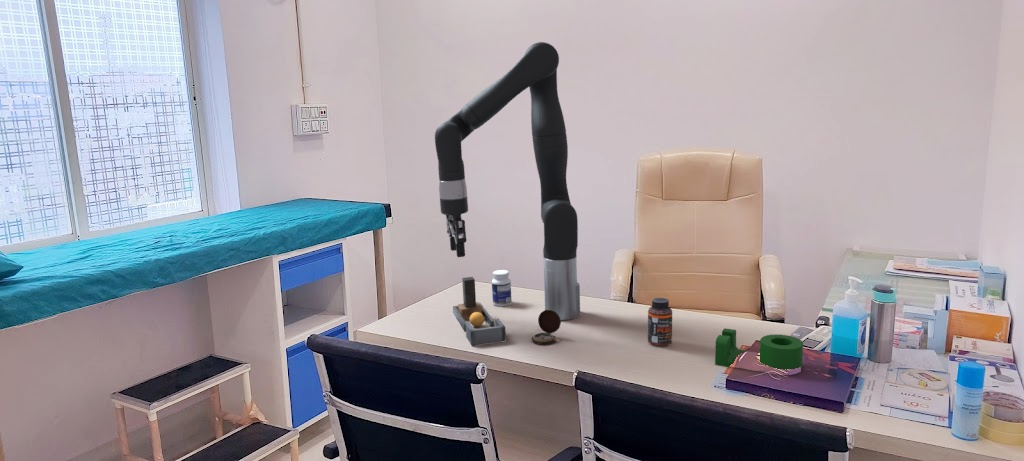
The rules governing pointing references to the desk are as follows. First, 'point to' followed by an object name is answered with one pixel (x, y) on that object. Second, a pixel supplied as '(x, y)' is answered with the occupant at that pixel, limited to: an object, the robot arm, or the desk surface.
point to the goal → (486, 334)
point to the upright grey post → (469, 299)
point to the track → (462, 321)
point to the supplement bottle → (660, 323)
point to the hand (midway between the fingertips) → (457, 253)
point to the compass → (547, 327)
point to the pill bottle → (501, 288)
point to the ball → (476, 319)
